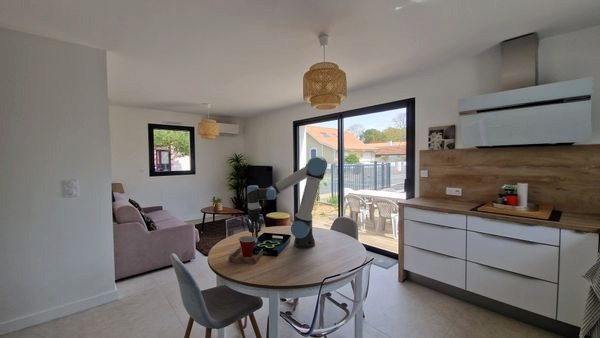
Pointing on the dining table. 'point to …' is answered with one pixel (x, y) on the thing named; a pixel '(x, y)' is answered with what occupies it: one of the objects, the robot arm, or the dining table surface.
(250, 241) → the plastic cup
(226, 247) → the dining table surface
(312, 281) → the dining table surface
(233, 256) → the frame
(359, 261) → the dining table surface
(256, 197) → the robot arm
